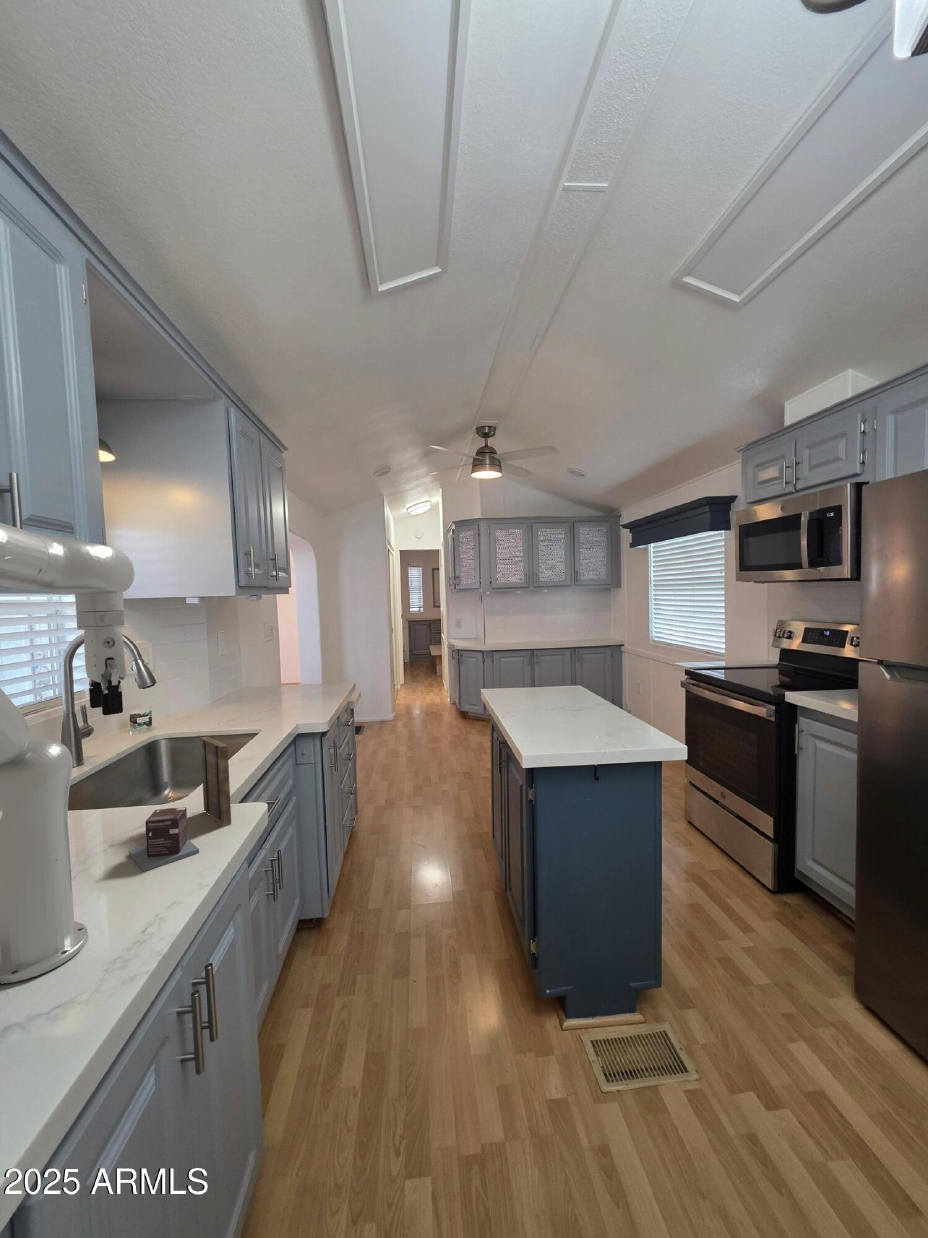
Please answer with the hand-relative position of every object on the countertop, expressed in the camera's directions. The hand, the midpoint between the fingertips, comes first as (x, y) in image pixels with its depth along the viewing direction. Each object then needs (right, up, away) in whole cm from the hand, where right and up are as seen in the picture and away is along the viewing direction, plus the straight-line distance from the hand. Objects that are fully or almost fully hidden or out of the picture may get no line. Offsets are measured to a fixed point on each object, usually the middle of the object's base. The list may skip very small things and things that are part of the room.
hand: (106, 710), depth 104 cm
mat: (+8, -30, +6) cm, 31 cm away
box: (+9, -29, +6) cm, 31 cm away
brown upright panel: (+7, -29, +19) cm, 36 cm away
